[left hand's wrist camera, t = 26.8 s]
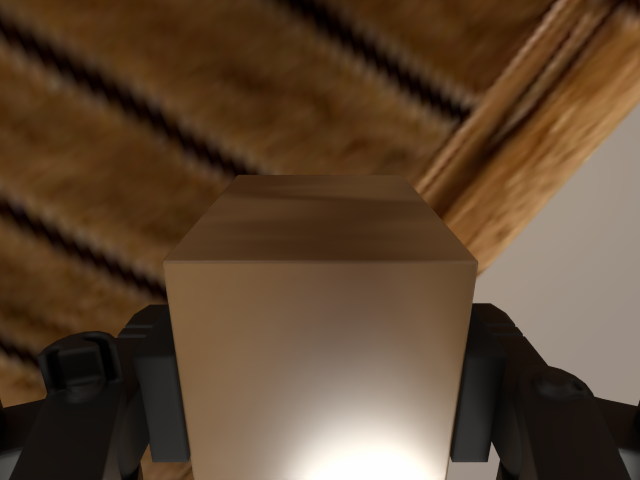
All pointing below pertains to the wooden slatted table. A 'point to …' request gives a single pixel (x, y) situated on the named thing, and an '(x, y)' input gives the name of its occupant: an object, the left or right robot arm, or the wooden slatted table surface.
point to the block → (320, 330)
